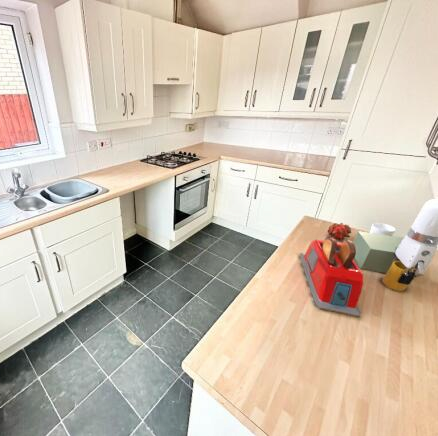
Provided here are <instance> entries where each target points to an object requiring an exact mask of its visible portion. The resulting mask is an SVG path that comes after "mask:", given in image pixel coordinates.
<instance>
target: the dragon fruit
mask: <svg viewBox="0 0 438 436" xmlns="http://www.w3.org/2000/svg"><path fill="white" fill-rule="evenodd" d="M327 233H328V236H329V237H328V238H333V239H335V240H337V239H338V241H344V240H346V238H347V239H349V238H351V235H350V234H352V228H351V227H350V225H349V224H344V223H343V222H340V223H333V224H332V225H329V227H328V229H327Z"/></svg>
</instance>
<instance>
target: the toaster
mask: <svg viewBox="0 0 438 436" xmlns="http://www.w3.org/2000/svg"><path fill="white" fill-rule="evenodd" d="M355 255H356V248H355V245H354V243H353V241H352V240H351V239H344V240H342V241H341V242H337V239H333V238H329V237H326V238H325V239H324V240H322V239H321V240H320V239H314V240H312V241H311V242H310V244H309V246H308V247H307V249H306V251H305V252H301V253H300V254H299V257H300V261H301V265H302V267H303V270H304V273H305V277H306V279H307V283H308V285H309V289H310V291H311V294H312V297H313V301H314V303H315V305H316V307H317V308H318V309H320V310H325V311H329V312H333V313H339V314H342V315H343V314H344V315H348V316H352V317H356V318H360V317H361V314H362V313H361V311H360V308H359V305H358V302H359V299H360V297H361V293H362V291H363V287H364V274H363V272H362V271H361V268H360V267H359V265H358V264H357V262H356V260H355Z"/></svg>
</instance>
